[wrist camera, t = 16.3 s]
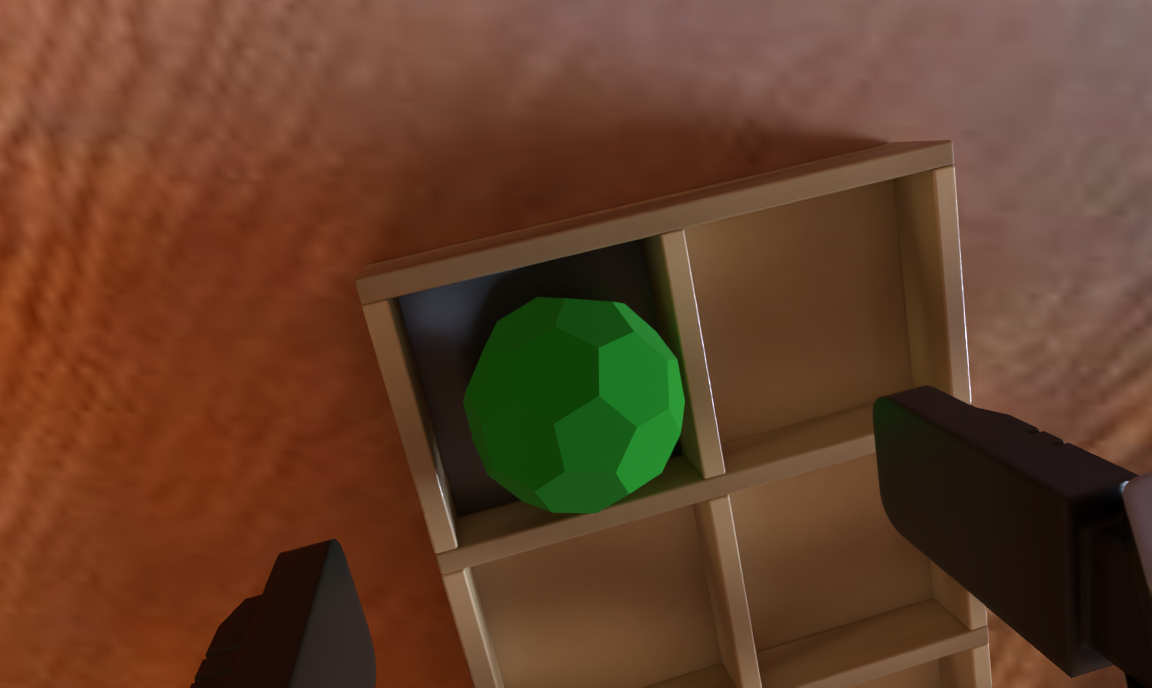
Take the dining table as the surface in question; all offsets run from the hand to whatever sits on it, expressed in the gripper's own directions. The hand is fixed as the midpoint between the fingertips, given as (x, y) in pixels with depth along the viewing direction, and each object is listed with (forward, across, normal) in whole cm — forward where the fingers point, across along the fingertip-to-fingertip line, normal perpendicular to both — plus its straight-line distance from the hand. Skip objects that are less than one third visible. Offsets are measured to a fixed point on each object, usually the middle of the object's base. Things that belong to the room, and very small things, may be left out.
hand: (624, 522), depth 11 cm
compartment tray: (+10, -4, +7) cm, 13 cm away
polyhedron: (+9, 0, 0) cm, 9 cm away
